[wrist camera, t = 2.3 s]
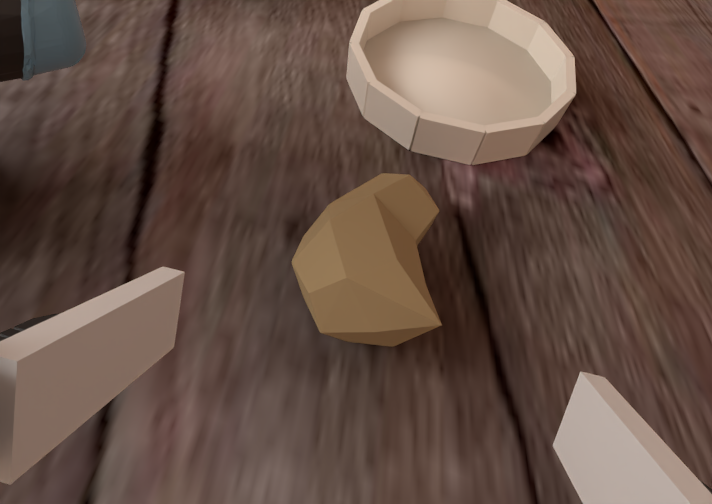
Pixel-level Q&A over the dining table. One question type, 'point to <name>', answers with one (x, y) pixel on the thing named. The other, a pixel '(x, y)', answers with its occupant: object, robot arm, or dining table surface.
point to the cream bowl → (460, 77)
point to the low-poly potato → (370, 263)
